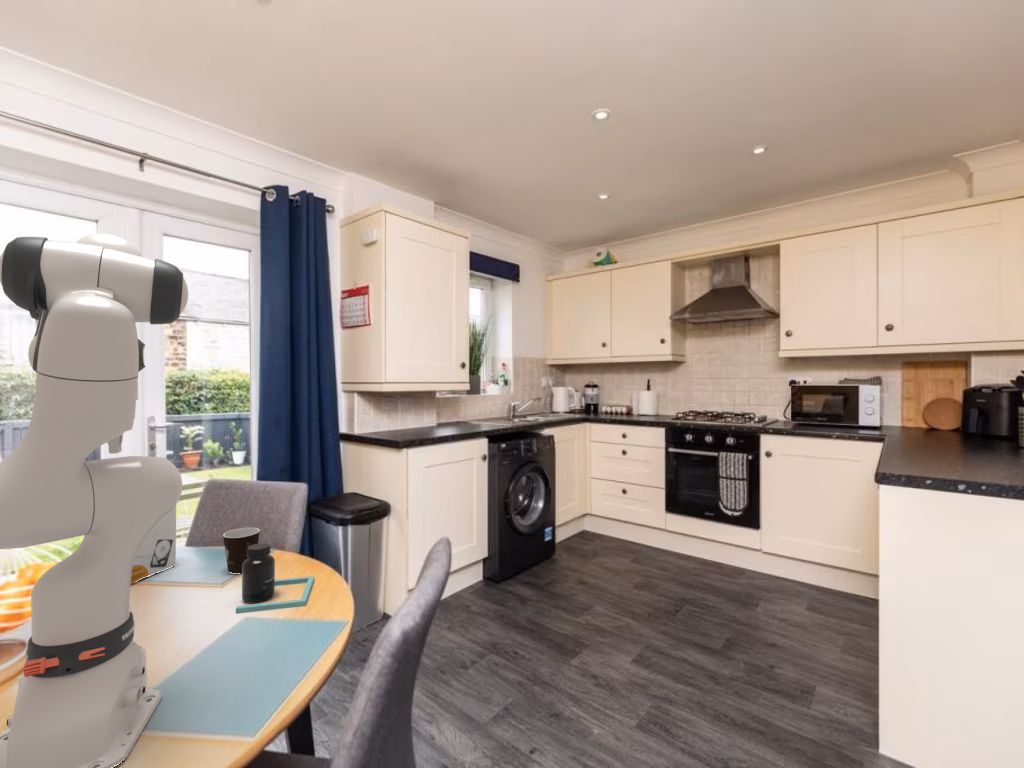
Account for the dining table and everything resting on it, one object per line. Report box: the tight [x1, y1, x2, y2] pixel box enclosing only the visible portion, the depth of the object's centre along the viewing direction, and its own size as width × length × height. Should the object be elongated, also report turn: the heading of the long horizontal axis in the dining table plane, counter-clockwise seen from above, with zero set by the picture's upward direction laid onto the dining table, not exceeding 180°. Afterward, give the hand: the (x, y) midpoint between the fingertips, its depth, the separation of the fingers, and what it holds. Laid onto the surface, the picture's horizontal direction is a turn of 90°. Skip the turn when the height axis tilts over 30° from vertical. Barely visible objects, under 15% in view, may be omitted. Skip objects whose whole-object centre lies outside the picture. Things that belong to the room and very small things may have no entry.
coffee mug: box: [222, 527, 261, 575], centre depth 128 cm, size 12×9×10 cm
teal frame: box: [235, 575, 315, 614], centre depth 115 cm, size 14×14×1 cm
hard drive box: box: [131, 505, 177, 585], centre depth 126 cm, size 16×8×20 cm, turn 168°
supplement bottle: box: [241, 542, 276, 604], centre depth 113 cm, size 7×7×12 cm
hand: (115, 452), depth 111 cm, fingers closed
